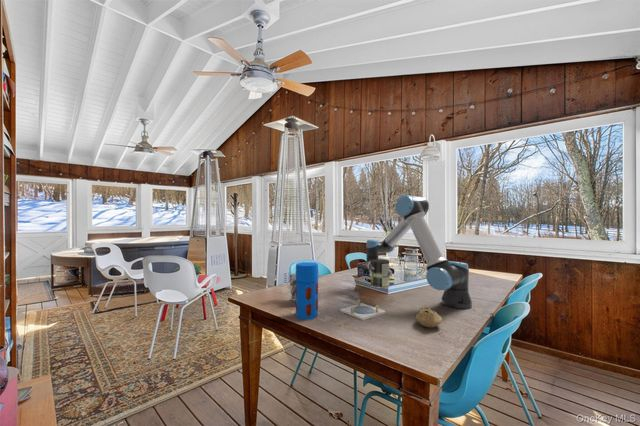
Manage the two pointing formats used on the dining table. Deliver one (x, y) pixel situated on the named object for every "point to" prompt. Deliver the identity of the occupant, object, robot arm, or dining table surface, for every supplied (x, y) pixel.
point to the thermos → (306, 290)
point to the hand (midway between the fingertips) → (381, 274)
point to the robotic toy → (293, 285)
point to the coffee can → (380, 273)
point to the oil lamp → (428, 318)
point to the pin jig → (362, 311)
